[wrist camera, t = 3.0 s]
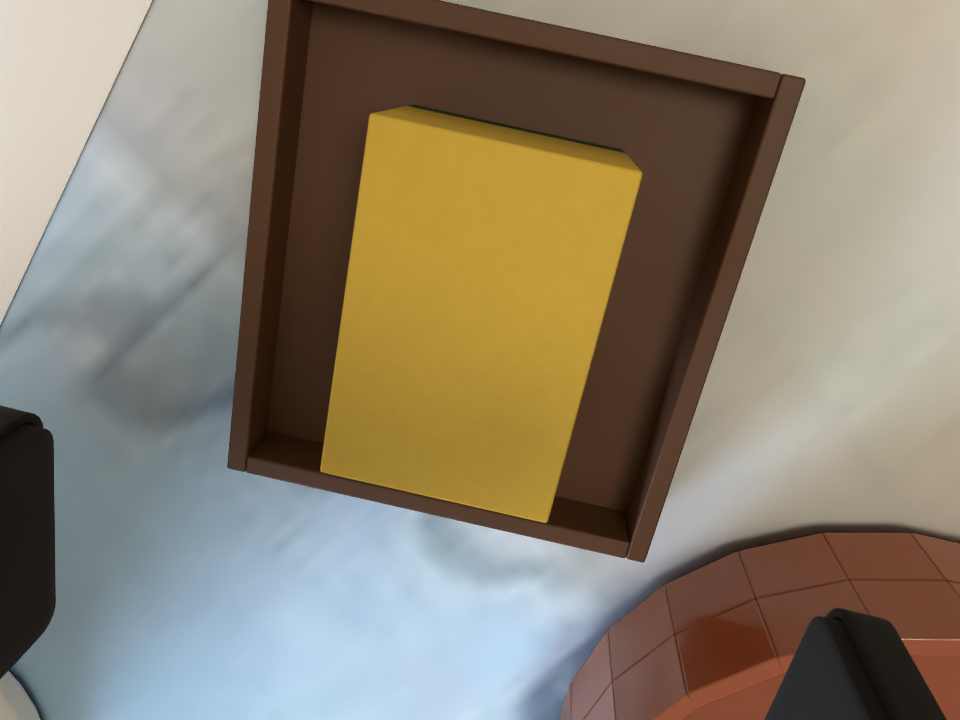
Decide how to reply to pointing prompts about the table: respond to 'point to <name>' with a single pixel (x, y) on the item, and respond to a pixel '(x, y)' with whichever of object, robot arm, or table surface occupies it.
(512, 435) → the sponge
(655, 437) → the tray
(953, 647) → the terracotta plant saucer
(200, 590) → the table surface
